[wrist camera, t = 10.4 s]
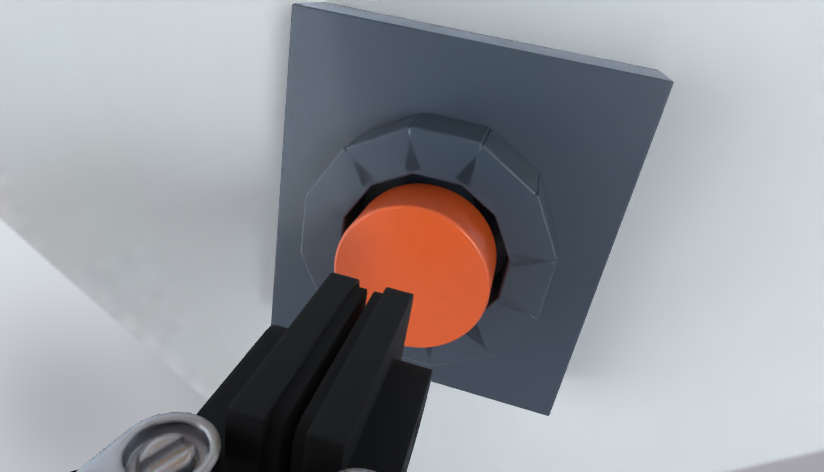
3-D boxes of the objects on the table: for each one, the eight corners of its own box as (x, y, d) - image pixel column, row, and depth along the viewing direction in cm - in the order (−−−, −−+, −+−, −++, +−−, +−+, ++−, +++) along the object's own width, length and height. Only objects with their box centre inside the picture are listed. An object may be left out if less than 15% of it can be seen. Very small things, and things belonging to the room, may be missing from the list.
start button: (478, 330, 16) (470, 367, 14) (347, 293, 16) (325, 324, 15) (513, 202, 14) (508, 229, 12) (364, 166, 14) (341, 187, 13)
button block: (549, 375, 20) (548, 458, 16) (295, 302, 21) (244, 364, 18) (658, 69, 15) (691, 93, 12) (322, 1, 17) (259, 3, 13)
